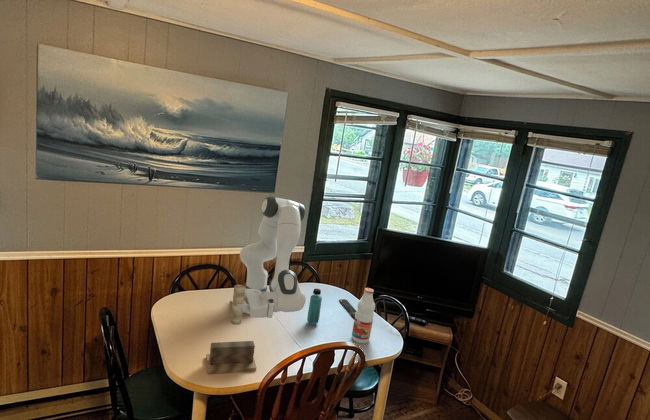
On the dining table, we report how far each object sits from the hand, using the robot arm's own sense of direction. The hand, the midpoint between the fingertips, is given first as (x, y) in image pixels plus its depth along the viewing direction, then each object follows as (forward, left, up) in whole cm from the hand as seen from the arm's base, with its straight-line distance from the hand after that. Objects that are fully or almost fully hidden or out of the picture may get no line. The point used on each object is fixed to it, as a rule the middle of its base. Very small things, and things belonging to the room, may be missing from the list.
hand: (235, 302), depth 172 cm
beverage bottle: (-12, +57, -29) cm, 65 cm away
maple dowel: (0, +1, -9) cm, 9 cm away
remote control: (-15, +89, -30) cm, 95 cm away
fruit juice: (+12, +70, -29) cm, 77 cm away
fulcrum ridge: (0, +1, -29) cm, 29 cm away
